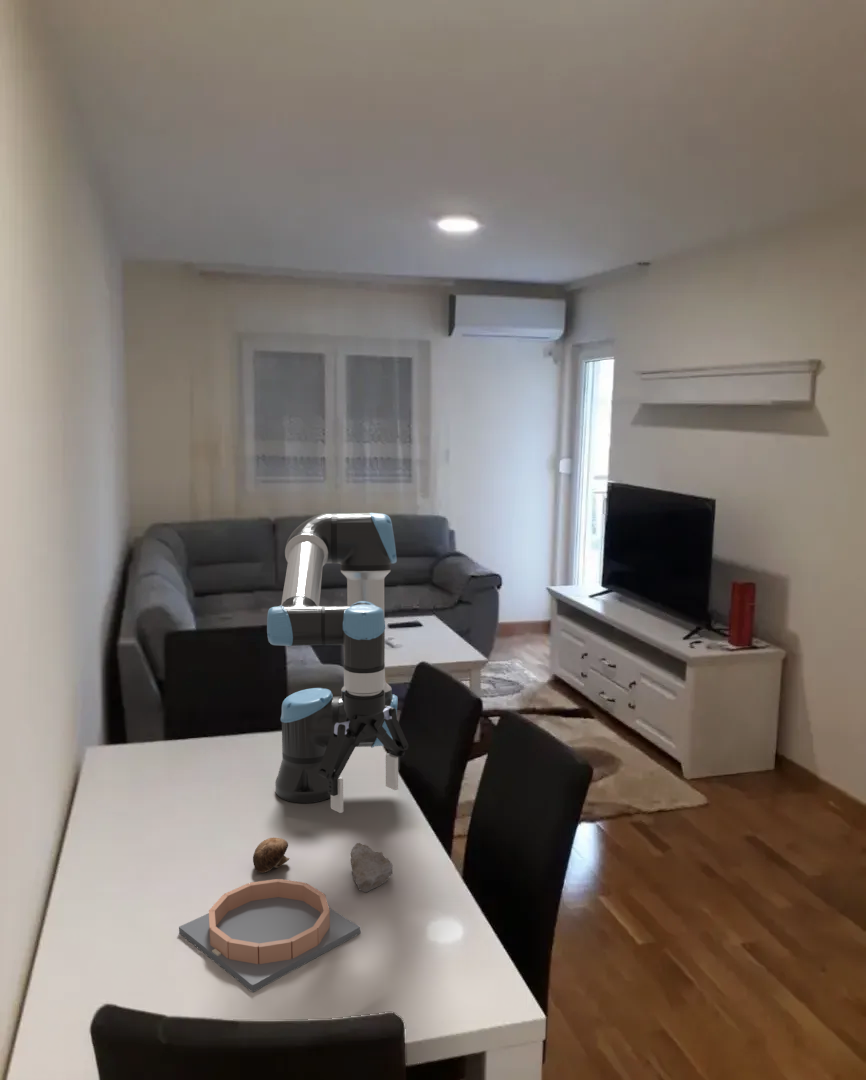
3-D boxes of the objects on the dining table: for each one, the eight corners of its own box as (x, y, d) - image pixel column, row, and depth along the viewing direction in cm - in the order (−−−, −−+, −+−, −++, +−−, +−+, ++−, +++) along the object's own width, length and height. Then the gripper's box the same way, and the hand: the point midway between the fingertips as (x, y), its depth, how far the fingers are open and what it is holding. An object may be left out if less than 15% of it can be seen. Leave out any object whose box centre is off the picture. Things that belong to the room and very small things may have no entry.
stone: (334, 876, 175) (334, 847, 174) (369, 863, 180) (369, 835, 179) (362, 898, 168) (362, 869, 167) (398, 884, 172) (398, 855, 171)
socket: (283, 884, 172) (283, 864, 171) (360, 933, 157) (360, 910, 156) (179, 933, 156) (178, 910, 156) (252, 992, 141) (252, 967, 140)
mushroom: (304, 846, 180) (284, 825, 178) (287, 879, 173) (266, 857, 171) (278, 855, 184) (258, 834, 182) (259, 887, 177) (239, 866, 176)
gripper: (399, 671, 178) (400, 773, 182) (297, 700, 161) (299, 813, 164) (426, 679, 173) (426, 784, 177) (323, 711, 156) (325, 827, 159)
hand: (365, 798), depth 170 cm, fingers open, 13 cm apart
